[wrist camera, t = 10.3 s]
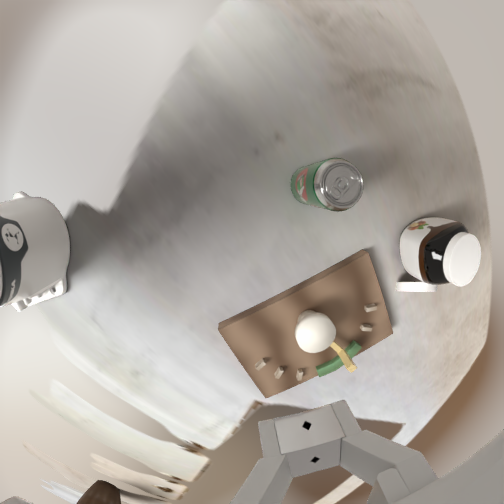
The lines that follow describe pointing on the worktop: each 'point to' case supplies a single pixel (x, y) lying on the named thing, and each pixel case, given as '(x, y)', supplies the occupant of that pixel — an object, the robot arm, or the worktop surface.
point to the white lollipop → (319, 336)
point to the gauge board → (286, 318)
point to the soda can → (328, 184)
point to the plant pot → (101, 494)
